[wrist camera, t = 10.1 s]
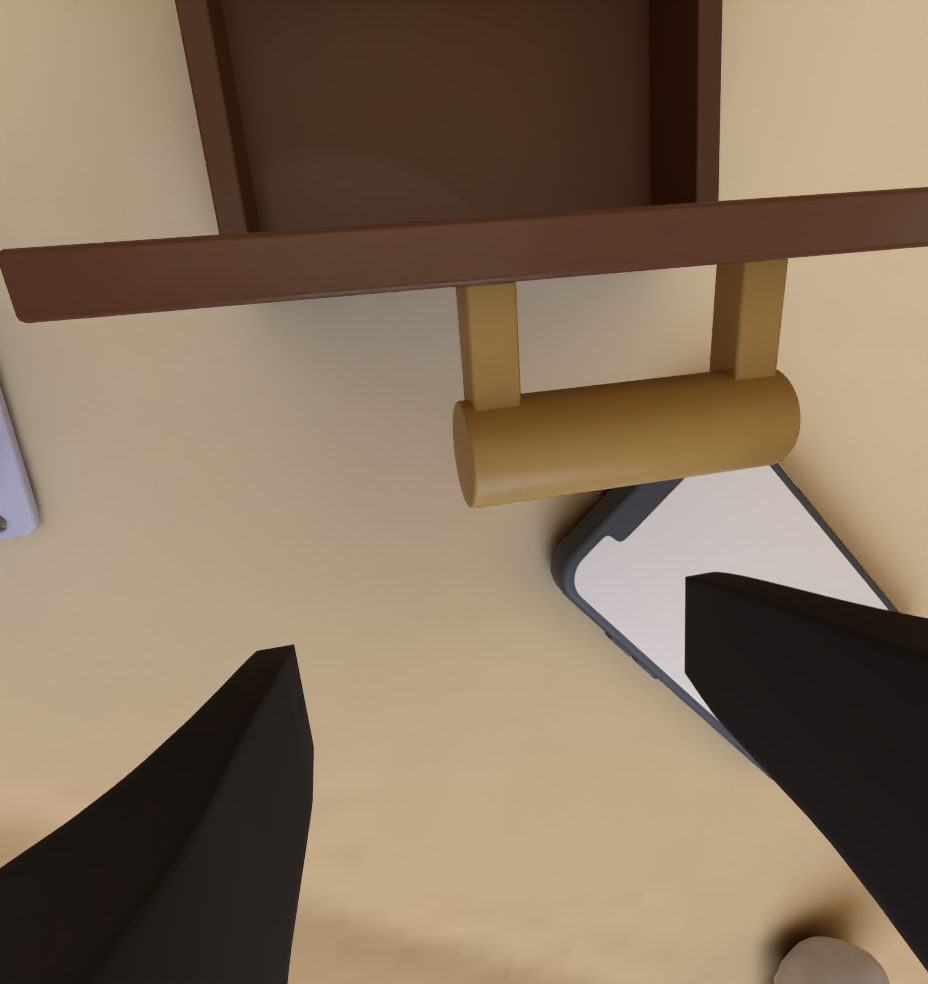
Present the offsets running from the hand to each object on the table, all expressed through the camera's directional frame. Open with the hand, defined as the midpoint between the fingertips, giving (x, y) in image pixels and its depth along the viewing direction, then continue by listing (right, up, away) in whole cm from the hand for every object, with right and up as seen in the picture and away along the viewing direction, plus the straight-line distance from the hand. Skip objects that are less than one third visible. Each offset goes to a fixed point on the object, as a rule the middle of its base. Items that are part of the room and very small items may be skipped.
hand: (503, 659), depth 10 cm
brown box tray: (-1, +14, +7) cm, 16 cm away
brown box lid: (+1, +8, 0) cm, 8 cm away
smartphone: (+10, -1, +13) cm, 17 cm away
